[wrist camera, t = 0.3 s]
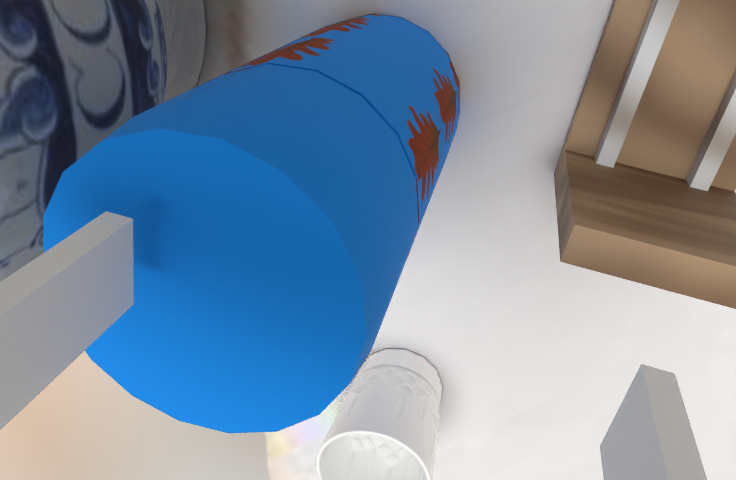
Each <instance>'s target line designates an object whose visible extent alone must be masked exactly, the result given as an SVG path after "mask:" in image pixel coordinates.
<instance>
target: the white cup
mask: <svg viewBox="0 0 736 480" xmlns="http://www.w3.org/2000/svg"><path fill="white" fill-rule="evenodd" d="M441 393H442V384H441V381H440V378H439V375H438V372H437V370H436V369H435V368H434V367H433V366H432V365H431V364H430V363H429V362H428V361H427V360H426V359H425V358H424V357H422V356H420V355H417V354H415V353H413V352H410V351H408V350H404V349H385V350H383V351H380V352H377V353H375V354H372V355H371V356H370V357H369V358H368V359H367V360H366V362H365V363H364V364H363V365H362V366H361V368H360V370H359V372H358V375H357V377H356V379H355V380H354V382H353V383H352V385H351V387H350V389H349V390H348V392H347V395H346V397H345V398H344V400H343V402H342V404H341V406H340V408H339V410H338V412H337V414H336V416H335V419H334V421H333V423H332V425H331V427H330V429H329V431H328V433H327V435H326V437H325V439H324V441H323V444H322V446H321V448H320V450H319V452H318V454H317V458H316V470H317V475H318V477H319V480H432V479H433V471H434V463H435V456H436V448H437V441H438V433H439V420H440V411H439V409H440V400H441Z"/></svg>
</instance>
